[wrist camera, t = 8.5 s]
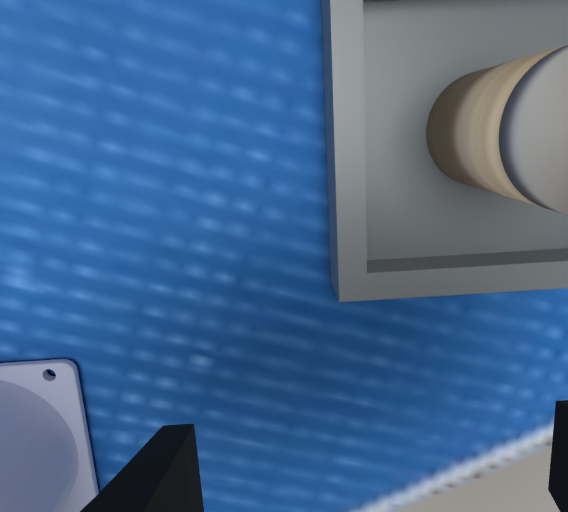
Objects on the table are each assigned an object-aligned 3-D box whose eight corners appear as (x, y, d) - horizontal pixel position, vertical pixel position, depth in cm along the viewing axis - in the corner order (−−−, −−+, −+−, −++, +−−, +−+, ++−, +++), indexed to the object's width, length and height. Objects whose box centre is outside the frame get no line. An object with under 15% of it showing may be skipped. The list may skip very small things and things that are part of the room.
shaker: (428, 190, 18) (517, 228, 11) (424, 76, 17) (519, 44, 10) (536, 178, 18) (691, 209, 11) (539, 64, 17) (709, 21, 10)
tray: (330, 281, 20) (339, 302, 17) (320, -21, 17) (328, -48, 15) (601, 264, 20) (647, 283, 17) (632, -38, 17) (692, -66, 15)
